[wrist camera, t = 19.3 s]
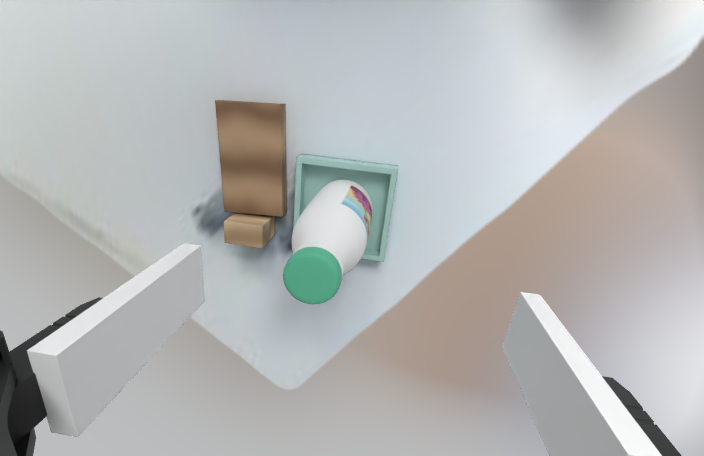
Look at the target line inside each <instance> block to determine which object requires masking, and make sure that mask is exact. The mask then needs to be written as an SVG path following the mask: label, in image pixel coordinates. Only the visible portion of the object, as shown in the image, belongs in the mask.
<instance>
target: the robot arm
mask: <svg viewBox="0 0 704 456" xmlns="http://www.w3.org/2000/svg"><path fill="white" fill-rule="evenodd" d="M203 303H204V285H203V268H202V252H201V246H200V245H193V244H187V243H183V244H182V245H180V246H179V247H177V248H176V249H174V250H173V251H171V252H170V253H168V254H167V255H166V256H164V257H163V258H161V259H160V260H158V261H157V262H155V263H154V264H152V265H151V266H150V267H148V268H147V269H145V270H144V271H142V272H141V273H139V274H138V275H136V276H135V277H133V278H132V279H131V280H129V281H128V282H126V283H125V284H123V285H122V286H120V287H119V288H117V289H116V290H115V291H113V292H112V293H110V294H109V295H107V296H106V297H104V298H97V299H94V300H92V301H90V302H87V303H85V304H82V305H80V306H79V307H77V308H76V309H74V310H72V311H71V312H69V313H68V314H66V316H65V317H62V318H60V319H59V320H57V321H56V322H54V323H53V325H52V326H51V325H50V326H48V327H47V328H45V329H44V330H42V331H40V332H39V333H37V334H36V335H34V336H33V337H31V338H30V339H28V340H27V341H25V342H24V343H22V344H21V345H19V346H18V347H16V348H15V349H13V350H12V351H10V352H9V350H8V347H7V344H6V341H5V337H4V334H3V332H2V331H0V456H33V452H34V446H35V440H36V435H35V430H34V427H35V426H36V425H37V424H38V423H39V422H41V421H42V420H43V419H44V418H45V417H46V416H47V420H48V423H49V426H50V430H51V432H53V433H58V434H63V435H68V436H74V437H78V436H79V435H80V434H81V433H82V432H83V431H84V430H85V429H86V428H87V427H88V426H89V425H90V424H91V422H92V421H93V420H94V419H95V418H96V417H97V416H98V415H99V414H100V413H101V412H102V411H103V410H104V408H106V406H107V405H108V404H109V403H110V402H111V401H112V400H113V399H114V398H115V397H116V396H117V395H118V393H120V391H121V390H122V389H123V388H124V387H125V386H126V385H127V384H128V383H129V382H130V381H131V380H132V379H133V378H134V376H135V375H136V374H137V373H138V372H139V371H140V370H141V369H142V368H143V367H144V366H145V365H146V364H147V363H148V361H149V360H150V359H151V358H152V357H153V356H154V355H155V354H156V353H157V352H158V351H159V350H160V348H162V346H163V345H164V344H165V343H166V342H167V341H168V340H169V339H170V338H171V337H172V336H173V335H174V334H175V332H176V331H177V330H178V329H179V328H180V327H181V326H182V325H183V324H184V323H185V322H186V321H187V320H188V319H189V318H190V316H191V315H192V314H193V313H194V312H195V311H196V310H197V309H198V308H199V307H200V306H201V305H202V304H203ZM502 349H503V351H504V353H505V356H506V358H507V361H508V363H509V365H510V367H511V369H512V372H513V374H514V376H515V378H516V381H517V383H518V385H519V388H520V390H521V392H522V394H523V397H524V399H525V401H526V403H527V405H528V408H529V410H530V413H531V415H532V417H533V419H534V422H535V424H536V426H537V428H538V431H539V433H540V435H541V438H542V439H543V442H544V444H545V446H546V449H547V451H548V453H549V456H681V454H680V453H679V452H678V451H677V450H676V448H675V447H674V446H673V445H672V443H671V442H670V441H669V440H668V439H667V437H666V436H665V435H664V434H663V433H662V431H661V430H660V429H659V428H658V426H657V425H654V423H653V422H654V421H653V420H652V419H651V418H650V416H649V415H648V414H647V413H646V411H643V408H642V406H641V405H640V404H639V403H638V402H637V400H636V399H635V398H634V397H633V395H632V394H631V393H630V392H629V391H628V390H626V389H625V388H624V387H623V386H621V385H620V384H619V383H618V382H617V381H615V380H614V379H613V378H610V377H603V376H601V375H600V373H599V372H598V371H597V369H596V368H595V367H594V366H593V364H592V363H591V361H590V360H589V359H588V358H587V356H586V355H585V354H584V352H583V351H582V350H581V348H580V347H579V346H578V344H577V343H576V342H575V340H574V339H573V338H572V336H571V335H570V334H569V332H568V331H567V330H566V328H565V327H564V326H563V324H562V323H561V322H560V320H559V319H558V318H557V317H556V315H555V314H554V313H553V311H552V310H551V309H550V307H549V306H548V305H547V303H546V302H545V301H544V299H543V298H542V297H541V295H538V294H530V293H524V292H520V294H519V298H518V301H517V303H516V306H515V309H514V312H513V316H512V319H511V322H510V325H509V328H508V331H507V334H506V337H505V340H504V343H503V346H502Z"/></svg>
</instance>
